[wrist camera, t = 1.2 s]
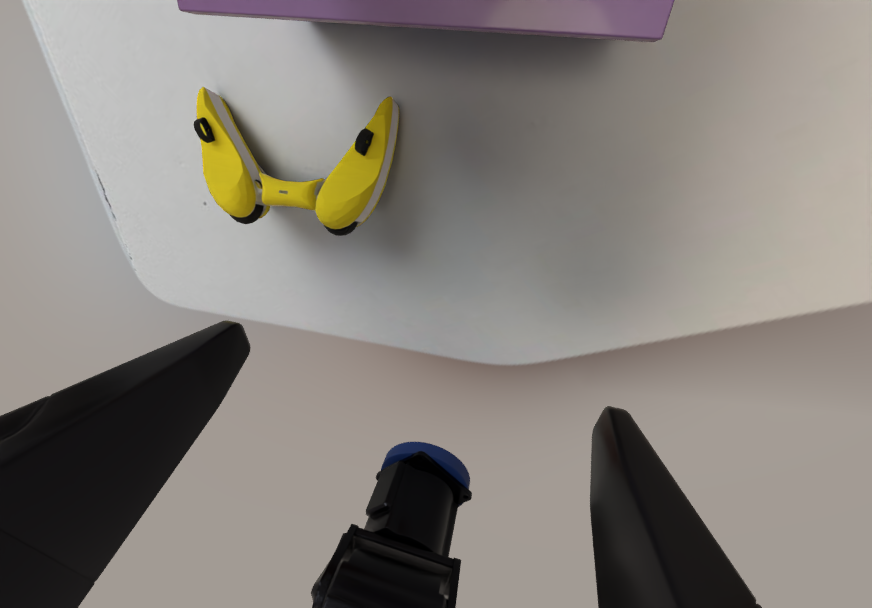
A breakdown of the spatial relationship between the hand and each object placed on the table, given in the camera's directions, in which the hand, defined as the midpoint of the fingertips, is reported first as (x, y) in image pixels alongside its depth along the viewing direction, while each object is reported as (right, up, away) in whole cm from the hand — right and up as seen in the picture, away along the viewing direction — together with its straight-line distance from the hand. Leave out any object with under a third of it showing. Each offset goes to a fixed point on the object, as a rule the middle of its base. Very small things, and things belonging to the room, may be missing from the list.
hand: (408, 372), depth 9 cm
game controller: (-6, +10, +11) cm, 16 cm away
